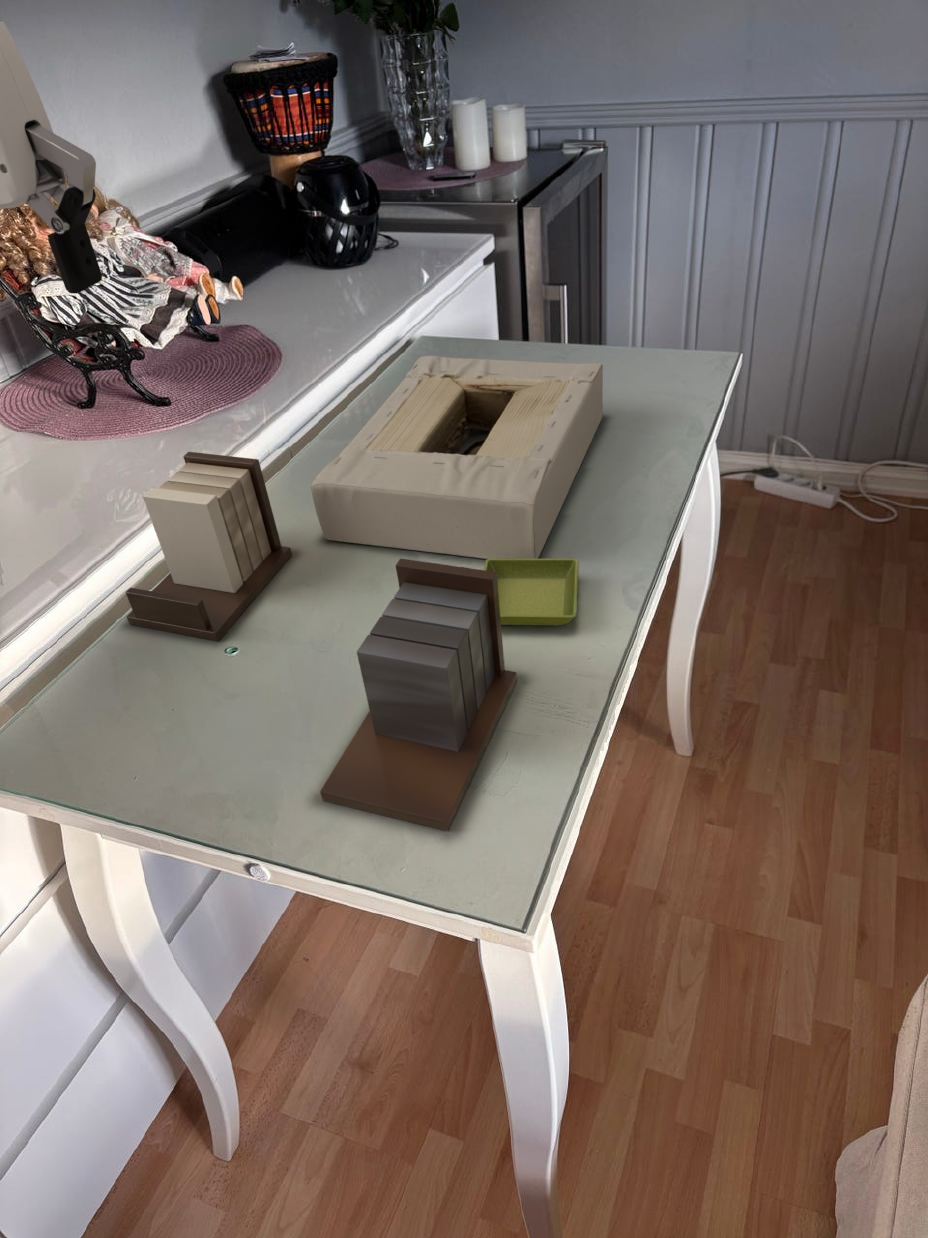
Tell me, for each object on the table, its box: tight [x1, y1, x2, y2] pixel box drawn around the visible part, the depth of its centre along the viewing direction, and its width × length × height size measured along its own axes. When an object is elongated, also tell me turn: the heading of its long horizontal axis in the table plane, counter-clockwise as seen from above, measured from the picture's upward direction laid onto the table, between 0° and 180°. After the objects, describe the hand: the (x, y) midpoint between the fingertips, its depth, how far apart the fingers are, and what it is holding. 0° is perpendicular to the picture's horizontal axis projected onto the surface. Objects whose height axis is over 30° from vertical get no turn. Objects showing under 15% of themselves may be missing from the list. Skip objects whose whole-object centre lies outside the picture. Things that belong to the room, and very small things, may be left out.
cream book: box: [142, 487, 243, 593], centre depth 85 cm, size 2×7×10 cm, turn 70°
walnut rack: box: [319, 558, 518, 832], centre depth 68 cm, size 16×10×11 cm, turn 160°
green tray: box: [483, 558, 580, 626], centre depth 82 cm, size 9×9×2 cm
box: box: [310, 355, 604, 560], centre depth 100 cm, size 23×8×32 cm
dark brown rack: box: [125, 451, 293, 642], centre depth 86 cm, size 14×10×11 cm
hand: (32, 284), depth 66 cm, fingers open, 9 cm apart
